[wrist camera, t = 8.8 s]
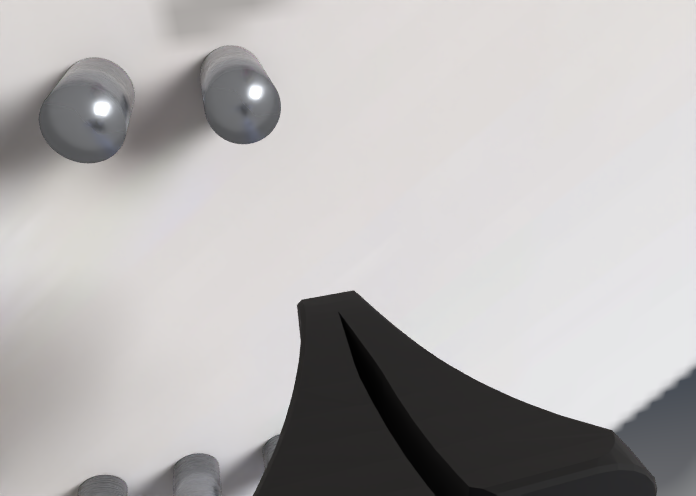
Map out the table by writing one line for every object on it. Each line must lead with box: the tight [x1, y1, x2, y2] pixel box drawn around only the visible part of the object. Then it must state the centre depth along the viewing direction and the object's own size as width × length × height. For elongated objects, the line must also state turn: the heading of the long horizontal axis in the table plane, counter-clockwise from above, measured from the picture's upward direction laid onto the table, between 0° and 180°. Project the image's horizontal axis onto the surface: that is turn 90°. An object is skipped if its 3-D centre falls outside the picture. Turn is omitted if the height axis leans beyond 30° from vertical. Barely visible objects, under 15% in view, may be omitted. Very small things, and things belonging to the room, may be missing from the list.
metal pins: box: [39, 45, 281, 496], centre depth 20 cm, size 19×10×4 cm, turn 3°
